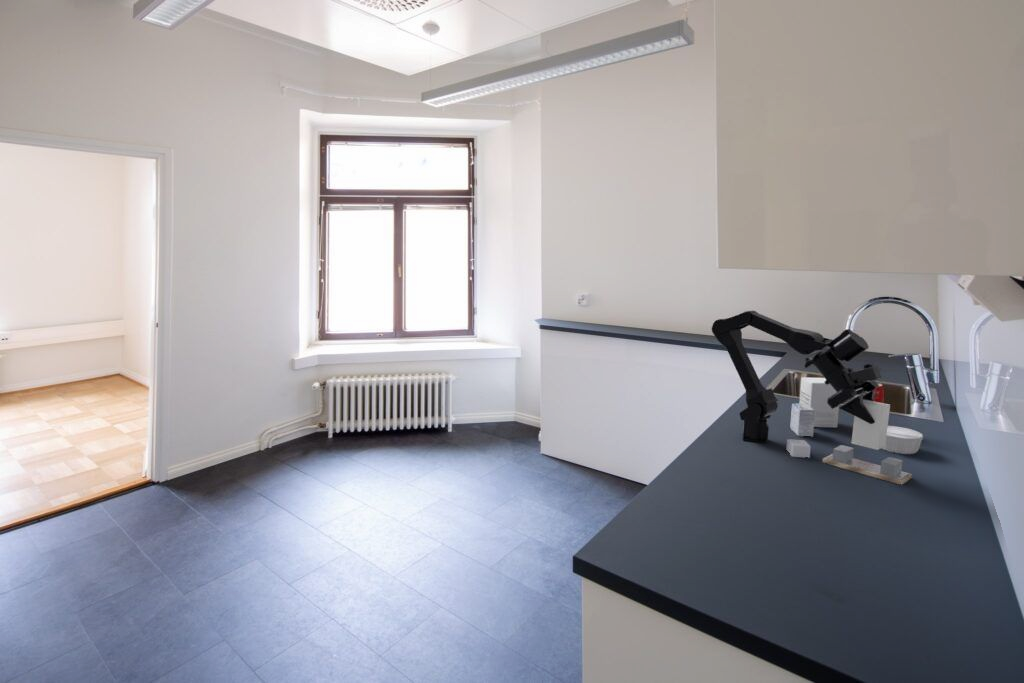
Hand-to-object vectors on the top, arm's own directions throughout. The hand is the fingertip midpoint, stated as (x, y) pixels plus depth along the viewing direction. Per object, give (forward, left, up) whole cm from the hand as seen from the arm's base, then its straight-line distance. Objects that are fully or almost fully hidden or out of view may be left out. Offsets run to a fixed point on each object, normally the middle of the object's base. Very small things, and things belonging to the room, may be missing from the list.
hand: (877, 421), depth 132 cm
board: (-1, 0, -13) cm, 14 cm away
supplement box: (-7, +40, -14) cm, 43 cm away
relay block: (-16, +6, -14) cm, 22 cm away
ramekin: (+11, +22, -14) cm, 29 cm away
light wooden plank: (-1, 0, -13) cm, 14 cm away
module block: (-1, +1, -7) cm, 7 cm away
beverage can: (+8, +40, -14) cm, 43 cm away
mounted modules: (-1, 0, -12) cm, 12 cm away
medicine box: (-13, +27, -14) cm, 34 cm away
